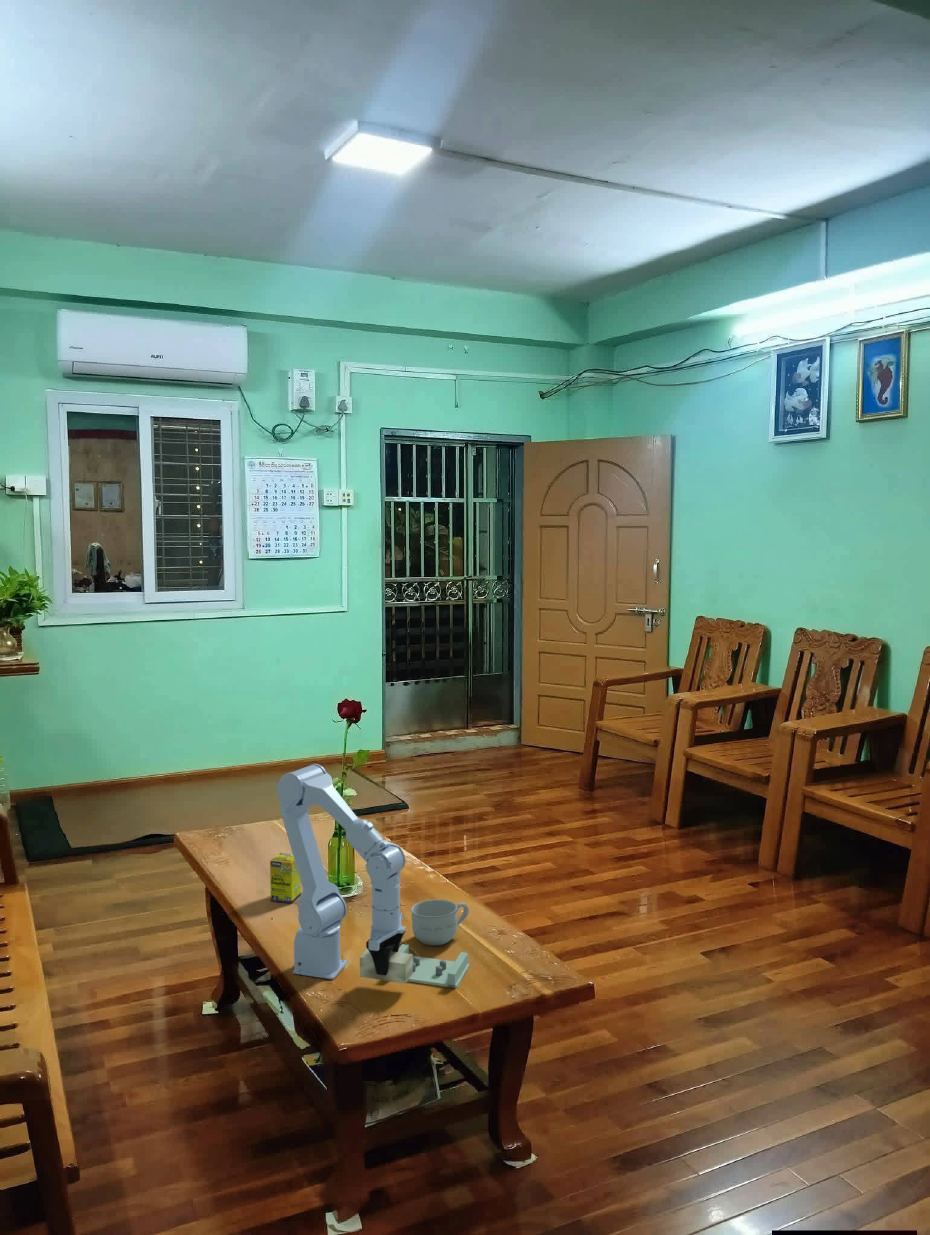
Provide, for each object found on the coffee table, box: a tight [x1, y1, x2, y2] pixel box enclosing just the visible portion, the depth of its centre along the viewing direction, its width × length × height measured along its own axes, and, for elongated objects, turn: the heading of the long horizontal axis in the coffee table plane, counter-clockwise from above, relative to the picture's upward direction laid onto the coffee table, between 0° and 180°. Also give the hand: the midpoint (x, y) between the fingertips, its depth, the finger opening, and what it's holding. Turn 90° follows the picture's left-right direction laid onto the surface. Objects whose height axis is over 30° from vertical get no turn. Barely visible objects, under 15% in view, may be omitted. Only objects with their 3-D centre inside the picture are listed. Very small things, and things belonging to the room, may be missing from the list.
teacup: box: [410, 899, 470, 947], centre depth 217 cm, size 14×11×8 cm
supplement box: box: [269, 852, 302, 905], centre depth 239 cm, size 6×6×11 cm
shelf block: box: [359, 948, 414, 985], centre depth 194 cm, size 10×4×4 cm, turn 74°
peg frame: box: [398, 943, 471, 989], centre depth 201 cm, size 16×10×3 cm, turn 74°
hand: (386, 968), depth 194 cm, fingers closed on shelf block, 4 cm apart
